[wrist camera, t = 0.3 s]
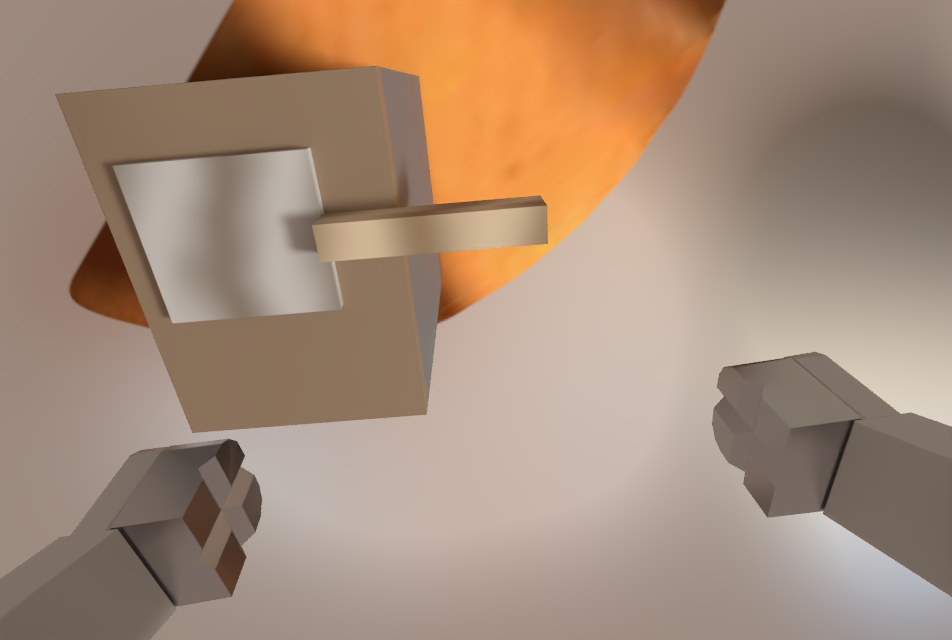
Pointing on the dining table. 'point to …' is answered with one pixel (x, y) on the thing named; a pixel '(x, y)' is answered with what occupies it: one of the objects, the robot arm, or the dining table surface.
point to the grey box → (342, 190)
